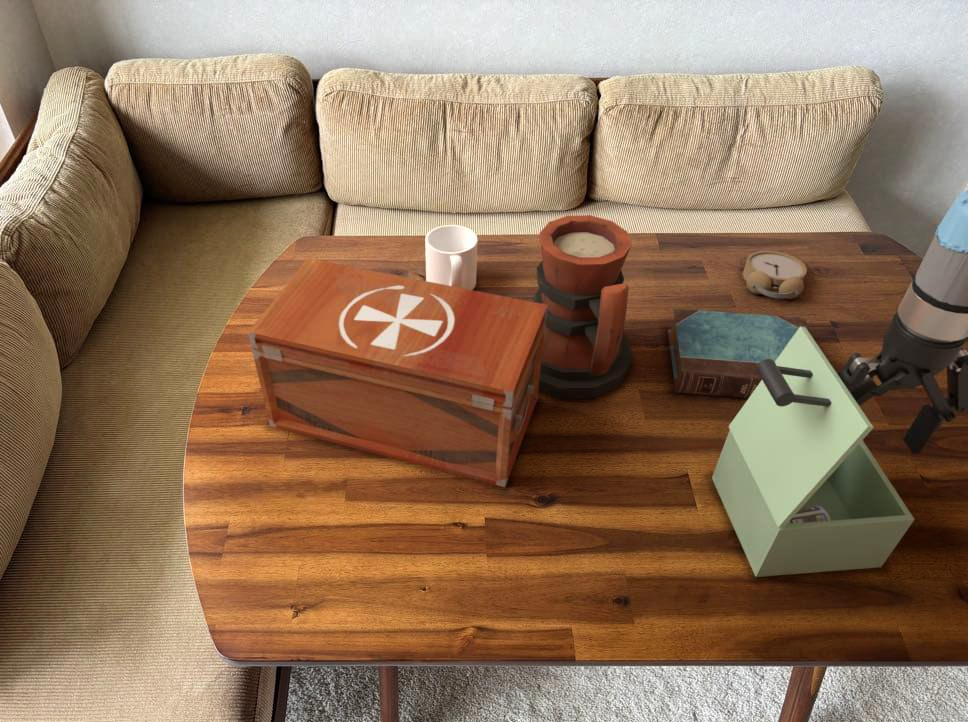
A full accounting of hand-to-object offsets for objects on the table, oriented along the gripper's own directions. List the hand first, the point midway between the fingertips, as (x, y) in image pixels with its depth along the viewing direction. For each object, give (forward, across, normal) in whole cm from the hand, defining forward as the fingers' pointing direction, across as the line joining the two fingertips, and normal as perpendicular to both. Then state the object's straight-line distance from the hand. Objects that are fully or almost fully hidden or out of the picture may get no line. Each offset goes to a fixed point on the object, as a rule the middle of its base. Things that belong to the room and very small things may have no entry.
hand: (860, 450), depth 101 cm
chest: (+15, +5, 0) cm, 15 cm away
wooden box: (+15, +59, -27) cm, 67 cm away
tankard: (+15, +29, -37) cm, 49 cm away
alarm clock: (+15, -15, -56) cm, 60 cm away
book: (+15, 0, -33) cm, 36 cm away
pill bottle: (+11, +2, +3) cm, 12 cm away
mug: (+15, +48, -62) cm, 79 cm away
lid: (-6, +11, 0) cm, 12 cm away
